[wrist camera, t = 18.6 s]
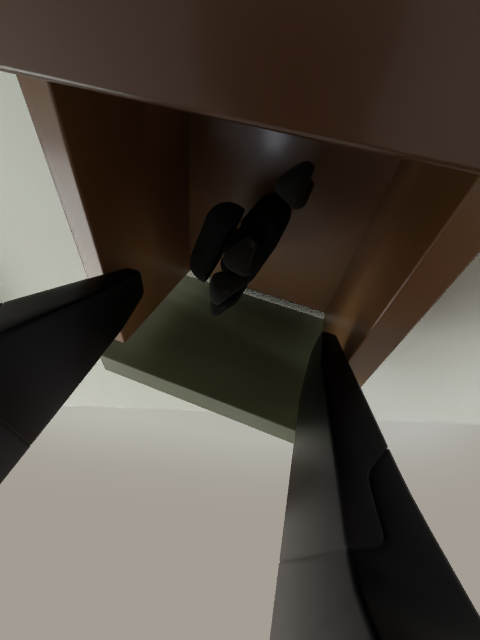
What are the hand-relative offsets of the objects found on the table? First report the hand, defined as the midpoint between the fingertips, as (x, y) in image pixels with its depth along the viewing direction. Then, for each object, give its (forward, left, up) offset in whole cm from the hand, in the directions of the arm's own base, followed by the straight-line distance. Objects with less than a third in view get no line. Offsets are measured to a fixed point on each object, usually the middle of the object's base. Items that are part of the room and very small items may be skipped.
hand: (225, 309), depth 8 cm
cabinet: (0, +13, -7) cm, 15 cm away
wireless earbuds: (-1, +1, -6) cm, 6 cm away
